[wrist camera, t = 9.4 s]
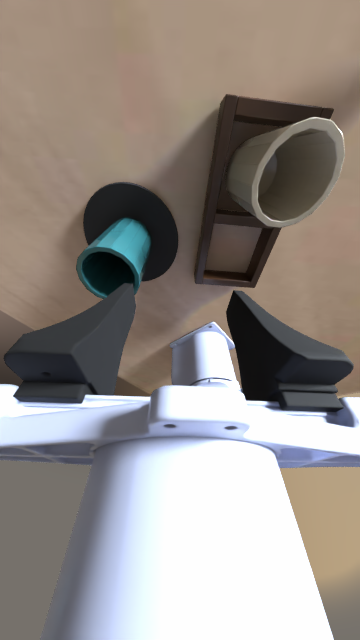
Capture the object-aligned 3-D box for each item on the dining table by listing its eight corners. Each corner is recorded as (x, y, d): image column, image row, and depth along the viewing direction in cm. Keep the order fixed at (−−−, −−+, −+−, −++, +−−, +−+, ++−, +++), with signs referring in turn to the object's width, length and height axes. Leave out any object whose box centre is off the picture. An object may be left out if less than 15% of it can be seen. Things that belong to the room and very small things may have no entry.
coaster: (136, 292, 24) (135, 294, 23) (66, 231, 18) (64, 233, 18) (195, 247, 19) (196, 249, 19) (127, 150, 14) (125, 150, 14)
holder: (194, 274, 22) (195, 283, 20) (220, 102, 12) (226, 93, 11) (249, 278, 22) (254, 288, 21) (315, 115, 13) (335, 108, 11)
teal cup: (133, 268, 21) (114, 310, 15) (101, 237, 18) (64, 272, 12) (160, 244, 19) (151, 282, 13) (129, 206, 16) (100, 231, 11)
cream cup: (238, 214, 17) (267, 242, 11) (215, 168, 15) (238, 172, 9) (284, 179, 15) (348, 190, 9) (267, 118, 13) (339, 83, 7)
